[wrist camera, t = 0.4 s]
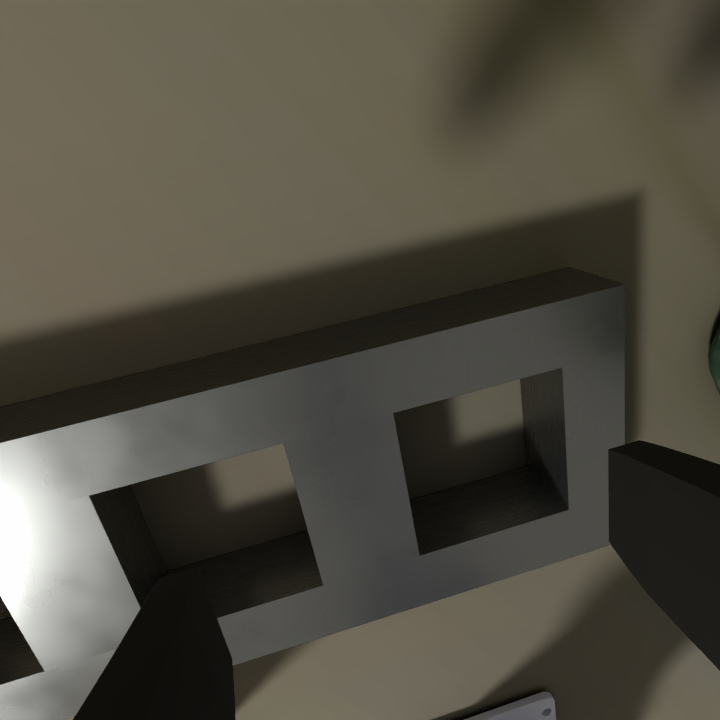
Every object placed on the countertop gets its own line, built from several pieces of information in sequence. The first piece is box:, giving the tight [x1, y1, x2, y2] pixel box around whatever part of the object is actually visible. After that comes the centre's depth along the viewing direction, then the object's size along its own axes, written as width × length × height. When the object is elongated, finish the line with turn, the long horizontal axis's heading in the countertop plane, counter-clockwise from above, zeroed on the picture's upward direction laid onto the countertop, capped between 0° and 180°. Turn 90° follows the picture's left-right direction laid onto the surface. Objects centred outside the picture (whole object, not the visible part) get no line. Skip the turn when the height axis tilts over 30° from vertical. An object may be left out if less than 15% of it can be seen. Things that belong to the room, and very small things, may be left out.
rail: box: [0, 267, 625, 720], centre depth 18 cm, size 10×28×3 cm, turn 100°
